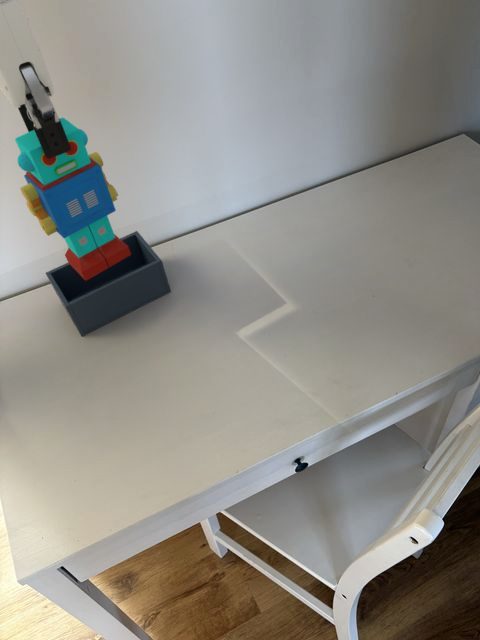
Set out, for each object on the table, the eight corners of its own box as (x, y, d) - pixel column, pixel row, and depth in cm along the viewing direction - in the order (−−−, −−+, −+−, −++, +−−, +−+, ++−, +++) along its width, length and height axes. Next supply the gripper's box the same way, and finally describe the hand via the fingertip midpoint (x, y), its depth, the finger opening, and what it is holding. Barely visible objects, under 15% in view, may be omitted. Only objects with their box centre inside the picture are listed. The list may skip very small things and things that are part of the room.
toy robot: (76, 286, 80) (-1, 130, 60) (57, 267, 83) (-22, 112, 63) (140, 249, 84) (88, 92, 64) (120, 232, 87) (65, 76, 67)
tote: (81, 336, 92) (65, 307, 86) (61, 303, 97) (45, 272, 91) (171, 291, 97) (161, 260, 91) (147, 261, 102) (136, 230, 96)
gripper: (-74, -34, 57) (3, 125, 72) (-35, 13, 48) (44, 186, 62) (-5, -52, 59) (56, 106, 74) (44, -10, 50) (103, 162, 64)
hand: (50, 141), depth 68 cm, fingers closed on toy robot, 5 cm apart
